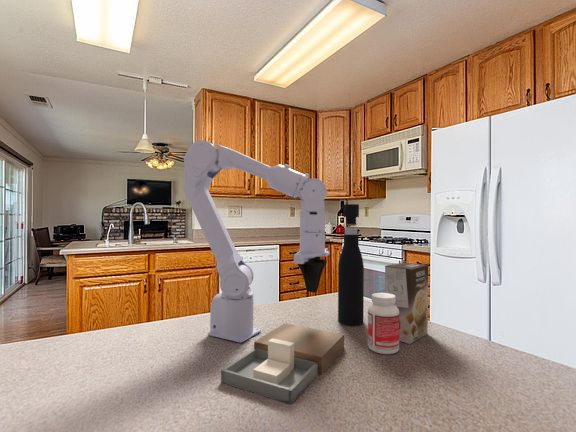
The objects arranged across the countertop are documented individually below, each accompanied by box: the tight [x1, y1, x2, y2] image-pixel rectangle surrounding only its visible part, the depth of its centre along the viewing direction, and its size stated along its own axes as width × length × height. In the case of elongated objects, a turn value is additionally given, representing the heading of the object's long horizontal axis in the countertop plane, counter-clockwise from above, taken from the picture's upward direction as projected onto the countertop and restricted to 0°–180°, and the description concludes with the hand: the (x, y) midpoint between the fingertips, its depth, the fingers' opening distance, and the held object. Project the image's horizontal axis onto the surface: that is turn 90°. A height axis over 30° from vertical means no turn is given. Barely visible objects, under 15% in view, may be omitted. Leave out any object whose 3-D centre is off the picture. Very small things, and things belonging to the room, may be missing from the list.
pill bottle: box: [367, 292, 400, 355], centre depth 67 cm, size 6×6×11 cm
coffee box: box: [384, 262, 429, 345], centre depth 75 cm, size 9×6×16 cm
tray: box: [220, 348, 319, 405], centre depth 55 cm, size 13×10×2 cm
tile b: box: [253, 359, 290, 385], centre depth 55 cm, size 4×4×2 cm
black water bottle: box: [337, 203, 365, 327], centre depth 84 cm, size 6×6×30 cm
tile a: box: [268, 338, 294, 372], centre depth 58 cm, size 4×4×2 cm
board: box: [253, 322, 345, 375], centre depth 65 cm, size 14×12×3 cm
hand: (312, 291), depth 75 cm, fingers closed
